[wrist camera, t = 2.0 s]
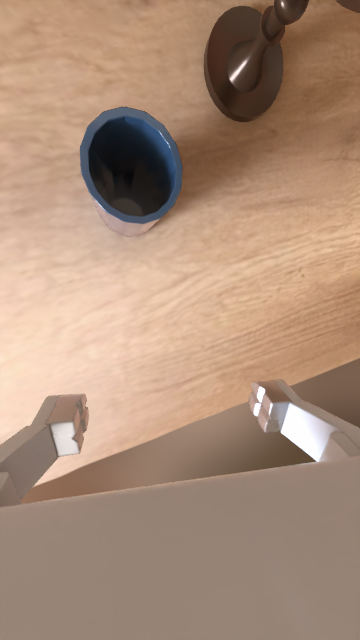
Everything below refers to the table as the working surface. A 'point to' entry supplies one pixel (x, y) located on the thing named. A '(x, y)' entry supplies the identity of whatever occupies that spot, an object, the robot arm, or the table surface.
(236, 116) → the candlestick
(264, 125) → the table surface
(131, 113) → the cup
